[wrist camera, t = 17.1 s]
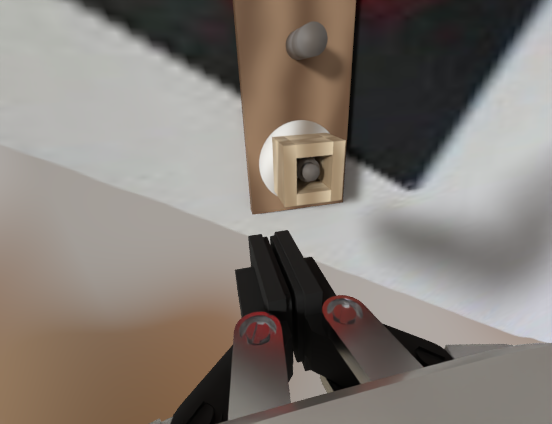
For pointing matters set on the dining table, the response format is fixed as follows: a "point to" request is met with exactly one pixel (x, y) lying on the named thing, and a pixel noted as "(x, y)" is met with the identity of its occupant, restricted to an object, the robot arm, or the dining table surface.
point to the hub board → (291, 82)
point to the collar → (326, 154)
